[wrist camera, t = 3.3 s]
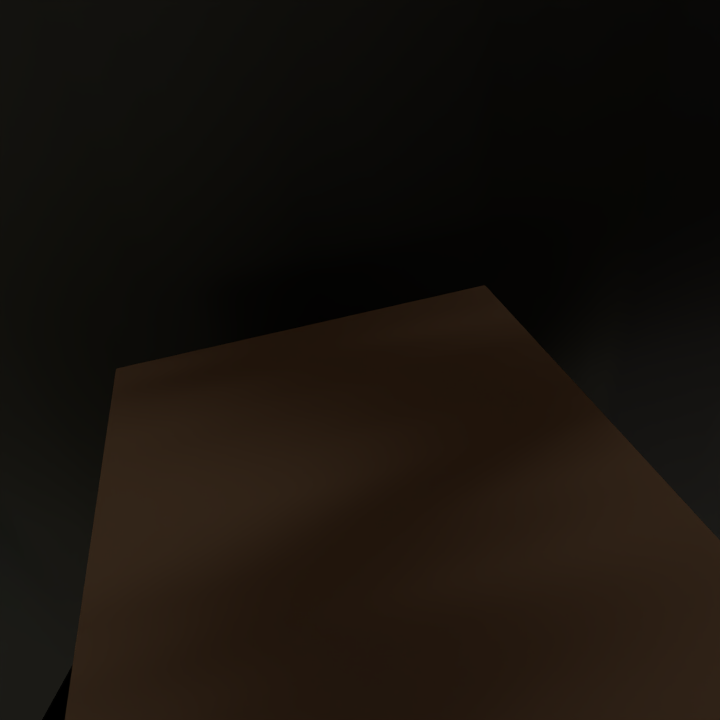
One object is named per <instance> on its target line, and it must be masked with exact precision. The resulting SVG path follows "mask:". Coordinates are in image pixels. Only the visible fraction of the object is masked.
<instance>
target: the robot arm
mask: <svg viewBox="0 0 720 720" xmlns="http://www.w3.org/2000/svg"><path fill="white" fill-rule="evenodd" d="M72 667H73V665H72ZM72 667H71V669H70V670H69V672H68V674H67V676H66V678H65V679H64V681H63V683H62V685H61V687H60V689H59V690H58V692H57V694H56V696H55V698H54V699H53V701H52V703H51V705H50V707H49V708H48V710H47V712H46V714H45V716H44V717H43V719H42V720H65V715H66V708H67V701H68V694H69V687H70V680H71V674H72Z"/></svg>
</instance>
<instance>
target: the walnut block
mask: <svg viewBox="0 0 720 720" xmlns="http://www.w3.org/2000/svg"><path fill="white" fill-rule="evenodd" d="M65 720H720V540H719V539H718V538H717V537H716V536H715V535H714V534H713V533H712V532H711V530H710V529H709V528H708V527H707V526H706V525H705V524H704V523H703V522H702V521H701V520H700V518H699V517H698V516H697V515H696V514H695V513H694V512H693V511H692V510H691V509H690V508H689V507H688V505H687V504H686V503H685V502H684V501H683V500H682V499H681V498H680V497H679V496H678V495H677V493H676V492H675V491H674V490H673V489H672V488H671V487H670V486H669V485H668V484H667V483H666V481H665V480H664V479H663V478H662V477H661V476H660V475H659V474H658V473H657V472H656V471H655V470H654V468H653V467H652V466H651V465H650V464H649V463H648V462H647V461H646V460H645V459H644V458H643V456H642V455H641V454H640V453H639V452H638V451H637V450H636V449H635V448H634V447H633V446H632V445H631V443H630V442H629V441H628V440H627V439H626V438H625V437H624V436H623V435H622V434H621V433H620V431H619V430H618V429H617V428H616V427H615V426H614V425H613V424H612V423H611V422H610V421H609V420H608V418H607V417H606V416H605V415H604V414H603V413H602V412H601V411H600V410H599V409H598V408H597V406H596V405H595V404H594V403H593V402H592V401H591V400H590V399H589V398H588V397H587V396H586V394H585V393H584V392H583V391H582V390H581V389H580V388H579V387H578V386H577V385H576V384H575V383H574V381H573V380H572V379H571V378H570V377H569V376H568V375H567V374H566V373H565V372H564V371H563V369H562V368H561V367H560V366H559V365H558V364H557V363H556V362H555V361H554V360H553V359H552V358H551V356H550V355H549V354H548V353H547V352H546V351H545V350H544V349H543V348H542V347H541V346H540V344H539V343H538V342H537V341H536V340H535V339H534V338H533V337H532V336H531V335H530V334H529V333H528V331H527V330H526V329H525V328H524V327H523V326H522V325H521V324H520V323H519V322H518V321H517V319H516V318H515V317H514V316H513V315H512V314H511V313H510V312H509V311H508V310H507V309H506V308H505V306H504V305H503V304H502V303H501V302H500V301H499V300H498V299H497V298H496V297H495V296H494V294H493V293H492V292H491V291H490V290H489V289H488V288H487V287H486V286H485V285H483V286H479V287H474V288H470V289H466V290H461V291H457V292H452V293H448V294H444V295H439V296H435V297H430V298H426V299H421V300H417V301H413V302H408V303H404V304H399V305H395V306H391V307H386V308H382V309H377V310H373V311H368V312H364V313H360V314H355V315H351V316H346V317H342V318H338V319H333V320H329V321H324V322H320V323H316V324H311V325H307V326H302V327H298V328H293V329H289V330H285V331H280V332H276V333H271V334H267V335H263V336H258V337H254V338H249V339H245V340H240V341H236V342H232V343H227V344H223V345H218V346H214V347H210V348H205V349H201V350H196V351H192V352H188V353H183V354H179V355H174V356H170V357H165V358H161V359H157V360H152V361H148V362H143V363H139V364H135V365H130V366H126V367H121V368H117V369H116V372H115V379H114V386H113V393H112V400H111V407H110V414H109V420H108V427H107V434H106V441H105V448H104V455H103V461H102V468H101V475H100V482H99V489H98V496H97V502H96V509H95V516H94V523H93V530H92V537H91V544H90V550H89V557H88V564H87V571H86V578H85V585H84V591H83V598H82V605H81V612H80V619H79V626H78V632H77V639H76V646H75V653H74V660H73V667H72V674H71V680H70V687H69V694H68V701H67V708H66V715H65Z"/></svg>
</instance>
